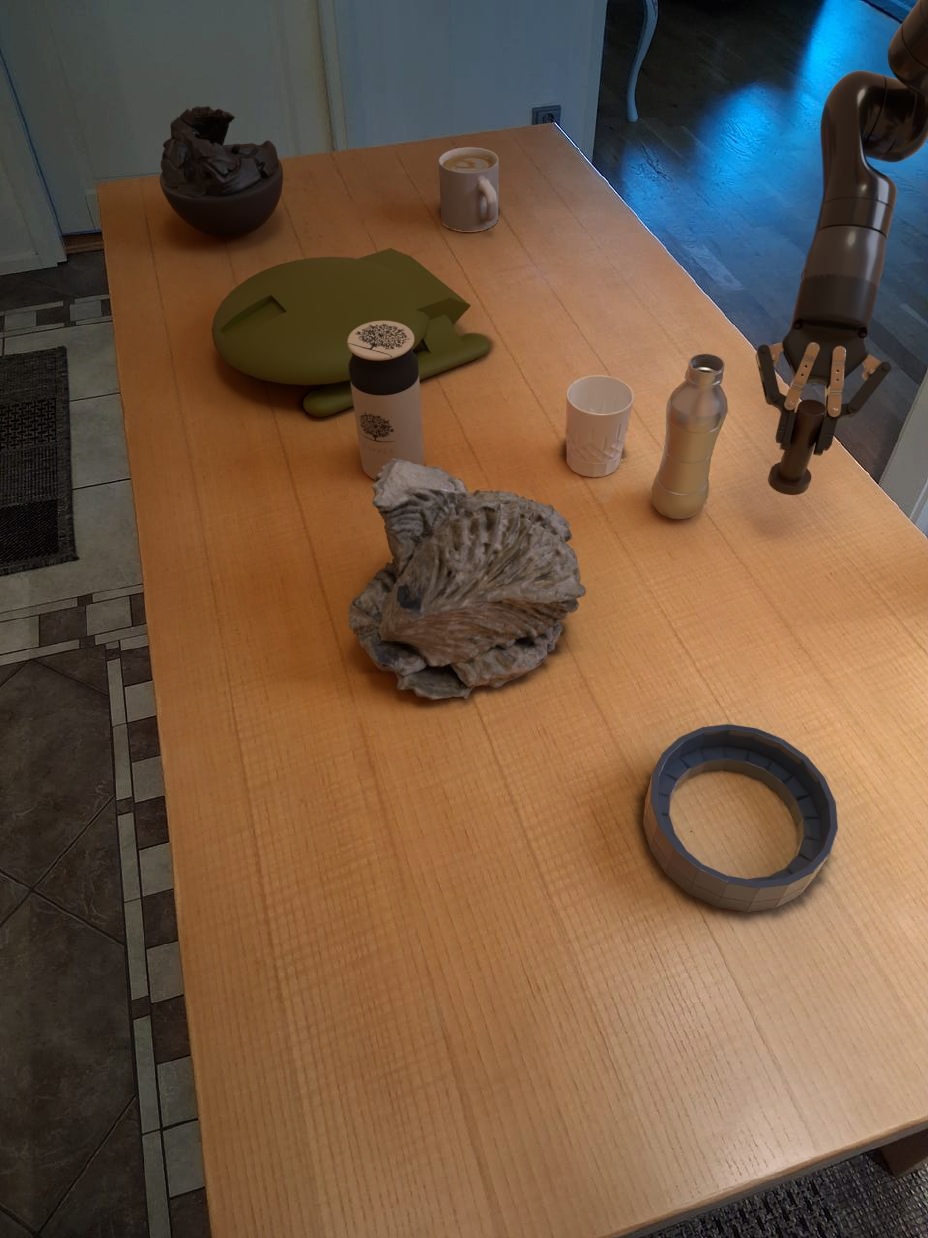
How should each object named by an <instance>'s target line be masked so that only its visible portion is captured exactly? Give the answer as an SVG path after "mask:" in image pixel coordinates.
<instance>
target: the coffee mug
mask: <svg viewBox="0 0 928 1238" xmlns="http://www.w3.org/2000/svg"><path fill="white" fill-rule="evenodd" d="M499 172H500V159H499V156H498V155H497V154H496V153H495V152H494V151H492V150H491V149H486V148H482V147H475V146H467V147H458V148H454V149H450V150H448V151H446V152H444V153H442V154H441V156H440V157H439V159H438V173H439V176H438V177H439V195H440V196H439V200H440V221H441V220H442V222H443V223H444V224H445V225H446V226H448V227H450V228H452V229H456V230H461V231H475V230H481V229H485V228H488V227H490V226H492V225H494V224H495V223H496V222H497V220H498V221H499V197H500V196H499V195H500V193H499V187H500V185H499V184H500V177H499V176H500V173H499ZM442 222H441V223H442ZM497 223H498V222H497Z"/></svg>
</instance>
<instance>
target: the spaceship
mask: <svg viewBox="0 0 928 1238" xmlns="http://www.w3.org/2000/svg"><path fill="white" fill-rule="evenodd" d="M470 307H472V305H471V304H470V303H469V302H468V301H466V300H465V299H464V298H463V297H461V296H460V295H459V294H458V293H457V292H455V291H454V290H453V289H452V288H450V287H449V286H448V285H447V284H445V283H444V282H443V281H442V280H441V279H439V278H438V277H437V276H436V275H435V274H434V273H432V272H431V271H430V270H428V269H427V268H426V267H424V266H423V265H422V264H421V263H420V262H419V261H417V260H416V259H415V258H414V257H412V256H411V255H408V254H406V253H403V252H402V251H399V250H397V249H395V248H391V247H390V248H386V249H383V250H381V251H377V252H374V253H370V254H368V255H365V256H362V257H359V258H355V257H347V256H319V257H308V258H302V259H297V260H292V261H287V262H284V263H281V264H280V263H279V264H277V265H274V266H272V267H268V268H266V269H264V270H261V271H259V272H258V273H256V274H254V275H252V276H250V277H248V278H247V279H245V280H244V281H243V282H241V283H240V284H239V285H237V286H236V287H234V288H233V289H232V290H231V291H230V293H228V295H226V297H224V298H223V300H222V301H221V302H220V304H219V306H218V307H217V309H216V311H215V313H214V317H213V320H212V325H211V329H210V330H211V335H212V342H213V345H214V347H215V349H216V350H217V352H218V354H219V356H220V357H221V358H222V360H223V359H224V361H226V362H227V363H228V364H229V365H230V366H231V367H233V368H234V369H236V370H237V371H240V372H241V373H243V374H245V375H248V376H251V377H254V378H256V379H259V380H261V381H266V382H273V383H276V384H277V383H278V384H283V385H296V386H297V385H298V386H301V385H302V386H315V385H326V386H323V387H320V388H318V389H315V390H313V391H310V392H309V393H308V394H307V395H306V396H305V397H304V398H303V402H302V404H303V408H304V411H306V412H307V413H308V414H309V415H311V416H314V417H317V418H325V417H329V416H332V415H334V414H336V413H340V412H342V411H344V410H346V409H347V410H348V409H350V408H353V407H354V404H353V397H352V389H351V382H350V375H349V367H348V365H349V361H350V359H351V357H352V352H351V351H350V349H349V347H348V344H347V340H348V337H349V335H350V333H351V332H352V331H353V330H354V329H356V328H357V327H359V326H361V325H363V324H366V323H369V322H374V321H393V322H397V323H400V324H403V325H405V326H407V327H408V328H409V329H410V330H411V331H412V333H413V335H414V343H413V346H412V351H413V350H414V349H416V348H417V346H418V345H419V344H420V343H421V344H422V345H423V347H424V349H422V350H420V351H417V352H414V354H415V355H416V357H417V359H418V368H419V382H420V381H422V380H425V379H428V378H431V377H433V376H436V375H438V374H441V373H443V372H446V371H448V370H451V369H453V368H457V367H459V366H461V365H464V364H466V363H467V364H468V363H469V362H472V361H474V360H476V359H479V358H482V357H483V356H486V355H487V354H488V352H489V351H490V350H491V349H490V348H491V343H490V341H489V339H488V338H487V337H486V336H485V335H482V334H480V333H474V332H473V333H472V332H471V333H466V334H463V335H461V336H460V335H459V333H458V331H457V330H456V328H455V324H456V323H457V322H458V321H459V320H460V318H462V316H463V315H464V314H465V313H466V312H467V311H468V309H470Z"/></svg>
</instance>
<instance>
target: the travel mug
mask: <svg viewBox="0 0 928 1238" xmlns="http://www.w3.org/2000/svg"><path fill="white" fill-rule="evenodd" d="M413 343H414V335H413V333H412V331H411V330H410V329H409V328H408V327H407V326H405V325H403V324H400V323H397V322H393V321H374V322H369V323H366V324H363V325H361V326H359V327H357V328H356V329H354V330H353V331H352V332H351V333H350V335H349V337H348V340H347V344H348V347H349V349H350V351H351V352H352V357H351V359H350V361H349V365H348V367H349V375H350V382H351V389H352V397H353V404H354V406H353V411H354V417H355V424H356V425H355V426H356V431H357V439H358V446H359V453H360V461H361V467H362V470H363V472H364V473H365V474H366V475H367V476H368V477H369V478H371V479H373V480H374V479H375V476H376V475H377V474H379V472H380V469H381V467H382V466H385V464H387V463H389V462H390V460H391V459H393V458H395V459H402V460H403V461H409V462H411V463H413V464H420V465H422V466H425V464H426V457H425V455H426V454H425V443H424V428H423V427H424V425H423V414H422V413H423V412H422V398H421V387H420V386H421V383H420V381H419V368H418V359H417V357H416V355H415V354H414V353H415V352H414V351H413V350H412V346H413Z"/></svg>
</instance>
